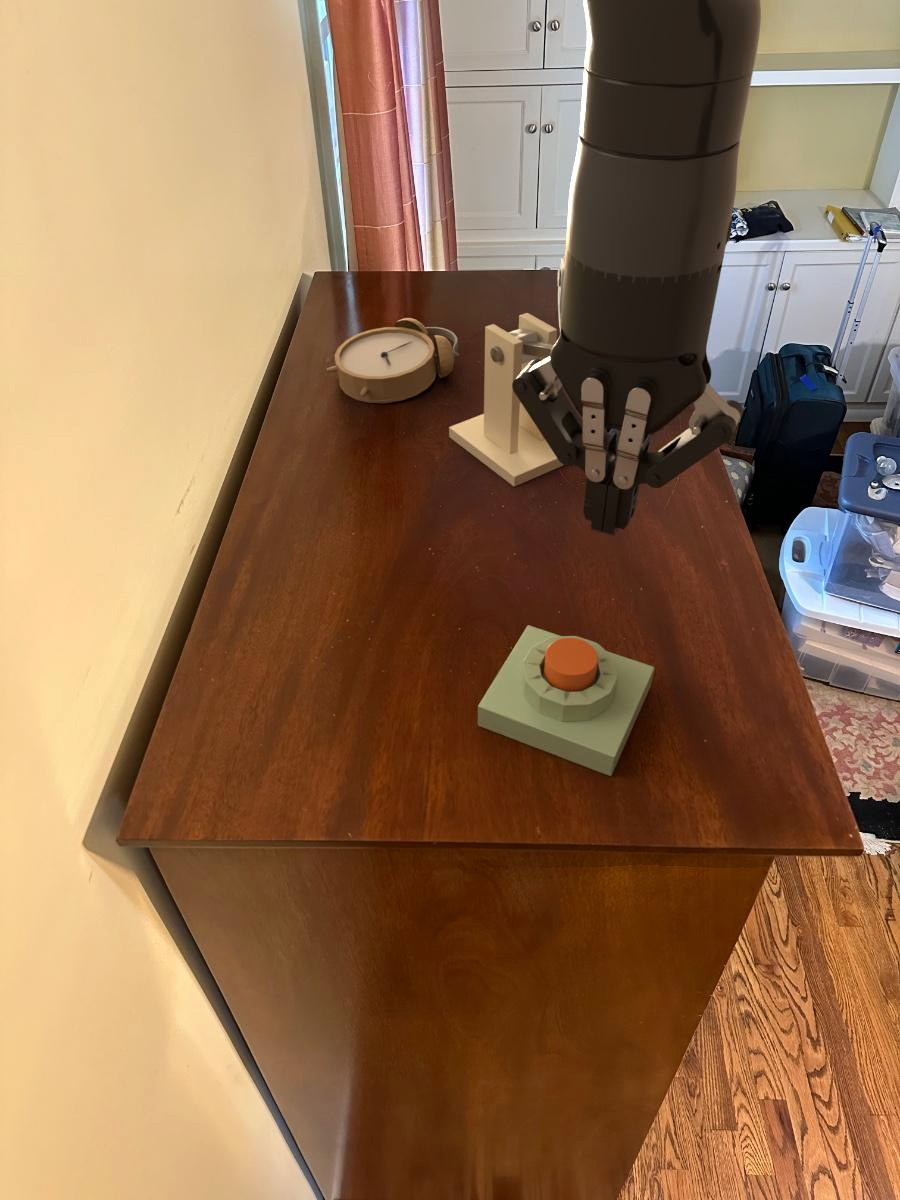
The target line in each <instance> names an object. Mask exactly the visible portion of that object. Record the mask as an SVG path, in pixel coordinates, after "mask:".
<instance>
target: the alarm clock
mask: <svg viewBox="0 0 900 1200" xmlns="http://www.w3.org/2000/svg"><path fill="white" fill-rule="evenodd" d="M430 336H433V340H432V339H431V338H430ZM449 340H450V341H452V342H453V343H454V344H453V345H452V343H451V342H450V341H449ZM458 349H459V341H458V336H457V335H456V333H454V332H453V331H452V330H450V329H447V328H445V327H441V326H440V327H439V326H428V327H425V325H424V324H423V323H422V322H421V321H419V320H417V319H414V318H412V317H404V318H402V319H399V320H397V321H396V322H395V324H393V326H385V327H379V328H372V329H369V330H366V331H362V332H360V333H357V334H355V335H353V336H351V337H350V338H347V339H345V341H344V342H342V344H340V345H339V346H338V347H337V350H336V351H335V354H334V361H335V365H333V366H329V367H327V368H326V372H327V373H336V372H337V375H338V381H339V387H340V389H341V390H342V391H343V393H344V394H345V395H346V396H348V397H350V398H352V399H354V400H356V401H360V402H364V403H369V404H389V403H394V402H395V403H396V402H402V401H404V400H408V399H410V398H413V397H415V396H418V395H419V394H421V393H423V392H424V391H426V390H428V388H429V387H430V386H432V384H433V383H434V382H435V380H436V376H437V373H438V376H439V378H440V379H442V378H446V377H447V376H449V375H450V373H451V372H452V371H453V368H454V365H455V360H456V358H459V356H460V354H459V352H457V351H458Z"/></svg>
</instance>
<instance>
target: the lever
mask: <svg viewBox="0 0 900 1200" xmlns="http://www.w3.org/2000/svg"><path fill="white" fill-rule="evenodd" d="M508 333H509V334H511V335H513V336H514V337H516V338H518V339H519V340H521V341H523V348H522V363H525V362H528V361H531V360H533V359H536V358H539V357H541V358H548V357H550V353H551V350H552V348H553V346H554V344H549V343H543V342H538V337H537V332H535V331H528V330H521V329H519V328H517V329H514V330H512V331H508Z"/></svg>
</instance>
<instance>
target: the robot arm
mask: <svg viewBox="0 0 900 1200" xmlns="http://www.w3.org/2000/svg"><path fill="white" fill-rule="evenodd" d="M582 4H583V8H584V9H583V10H584V14H585V15H584V16H585V23H586V43H585V52H584V53H585V54H584V62H583V63H584V64H583V65H584V67H583V78H582V79H583V82H582V95H581V106H580V108H581V109H580V122H579V123H580V124H579V135H578V140H577V141H578V142H577V150H576V154H575V159H574V165H573V169H572V175H571V180H570V186H569V195H568V209H567V221H566V223H567V224H566V235H565V236H566V237H565V253H564V255H565V266H564V280H563V294H562V309H561V333H560V332H559V336H558V338H557V339H556V343H555V344H554V346H553V348H552V350H551V353H550V357H548V358H546V359H545V360H543V361H542V360H540V359H534V360H532V361H531V362H530V363H529V364H528V365H527V366H526V367H525V369H524V370H523V371H522V372H521V373H520V374H519V375H518V376H517V378H516V379H515V380H514V381H513V383H512V388H513V391H514V393H515V394H516V396H517V397H518V399H519V400H520V402H521V403H522V405H523V406H524V408H525V409H526V411H527V413H528V414H529V416H530V417H531V419H532V420H533V422H534V423H535V425H536V426H537V428H538V429H539V431H540V432H541V434H542V436H543V437H544V439H545V440H546V442H547V443H548V445H549V446H550V448H551V449H552V451H553V452H554V454H555V455H556V457H557V459H558V460H559V461H560V462H561V463H562V464H564V465H563V466H573V465H574V466H576V467H578V469H580V470H581V471H583V473H584V475H585V477H586V483H585V491H584V492H585V493H584V500H583V501H584V502H583V509H582V511H583V515H584V519H585V520H586V521H590V522H591V524H590V530H591V531H595V532H597V533H602V534H606V535H610V536H612V537H613V536H614V537H615V536H616V534H617V533H618V531H619V530H620V529H621V530H623V531H624V530H625V529H626V528H627V526H628V525H629V523H630V521H632V518H633V517H634V514H635V512H636V509H637V503H638V497H639V490H640V485H644V484H647V486H649V487H651V488H653V489H660V488H662V487H664V486H665V485H667V484H668V483H669V482H671V481H673V480H674V479H675V478H677V477H678V476H680V475H681V474H682V473H684V472H685V471H687V470H688V469H690V468H692V467H693V466H694V465H696V464H697V463H699V462H700V461H701V460H703V459H704V458H705V457H707V456H709V455H710V454H712V453H713V452H714V451H716V450H717V449H718V448H720V447H721V446H723V445H724V444H726V443H727V442H729V441H730V440H731V438H732V437H733V435H734V433H735V432H736V429H737V427H738V425H739V423H740V421H741V419H742V416H743V414H744V408H743V406H742V404H741V403H740V402H739V401H737V400H734V399H728V400H725V399H724V398H723V397H722V396H721V395H720V393H718V391H717V390H715V388H713V386H712V385H711V384H710V381H711V379H712V367H711V364H710V362H709V359H708V355H707V346H708V340H709V335H710V329H711V324H712V319H713V314H714V310H715V303H716V298H717V294H718V288H719V283H720V279H721V278H720V277H721V272H722V268H723V262H724V259H725V258H724V257H725V252H726V247H727V244H728V243H729V242H730V239H731V234H732V230H733V229H732V228H733V218H732V216H733V211H734V206H735V198H736V193H737V179H738V177H737V176H738V160H739V151H740V145H741V144H740V143H741V136H742V134H743V133H742V132H743V126H744V122H745V118H746V111H747V105H748V101H749V97H750V96H749V95H750V90H751V85H752V79H753V74H754V67H755V64H756V59H757V52H758V47H759V40H760V33H761V32H760V31H761V23H762V22H761V21H762V7H761V5H762V3H761V0H582ZM563 389H564V390H563ZM565 392H566V394H567V395H566V394H565ZM567 396H568V397H569V398H568V397H567ZM571 402H572V403H571ZM572 404H573V405H572ZM692 405H693V407H694V411H693V413H692V414H691V416H690V418H689V420H688V422H687V423H688V428H687V429H686V430H684V431H683V432H681V433H680V434H679V435H678V436H676V437H675V438H674V439H673V440H671V441H670V442H669V443H667V444H665V445H664V446H663V447H661V448H660V449H659V450H658V451H654V452H653V451H651V452H650V447H651V443H652V440H653V436H654V435H655V434H656V433H658V432H660V431H662V430H663V429H664V428H665V427H666V426H667V425H669V424H670V423H671V422H672V421H674V420H675V419H676V418H677V417H679V416H680V415H681V414H682V413H683V412H685V411H686V410H687V409H688V408H689V407H691V406H692ZM580 416H581V417H582V419H581V417H580Z"/></svg>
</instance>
